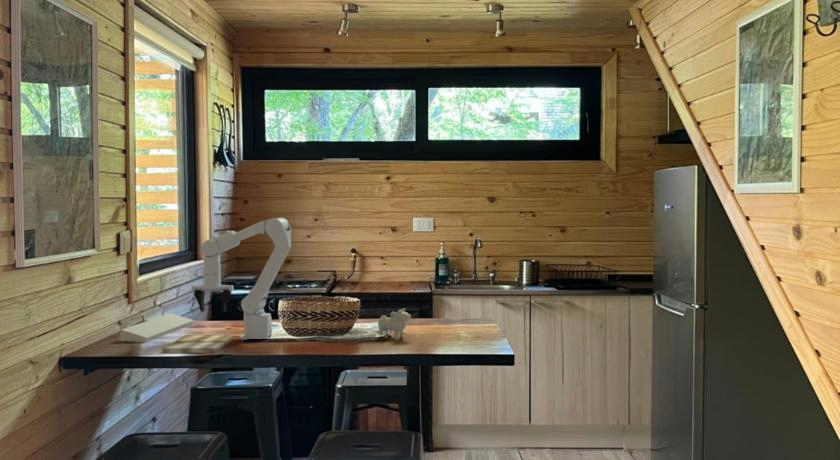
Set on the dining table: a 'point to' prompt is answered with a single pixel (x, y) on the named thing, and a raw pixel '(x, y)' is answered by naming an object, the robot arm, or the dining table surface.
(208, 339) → the oak plank
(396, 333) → the grey animal figure
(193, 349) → the laminate section
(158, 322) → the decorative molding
